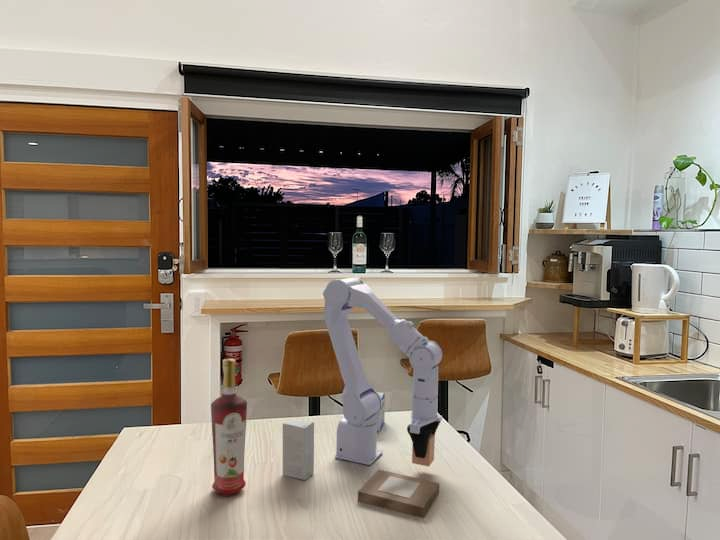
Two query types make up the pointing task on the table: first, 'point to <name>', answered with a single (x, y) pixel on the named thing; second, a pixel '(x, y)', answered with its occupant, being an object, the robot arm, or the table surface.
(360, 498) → the base board
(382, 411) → the medicine box
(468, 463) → the table surface
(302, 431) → the skincare box
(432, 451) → the terracotta block
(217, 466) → the liquor
